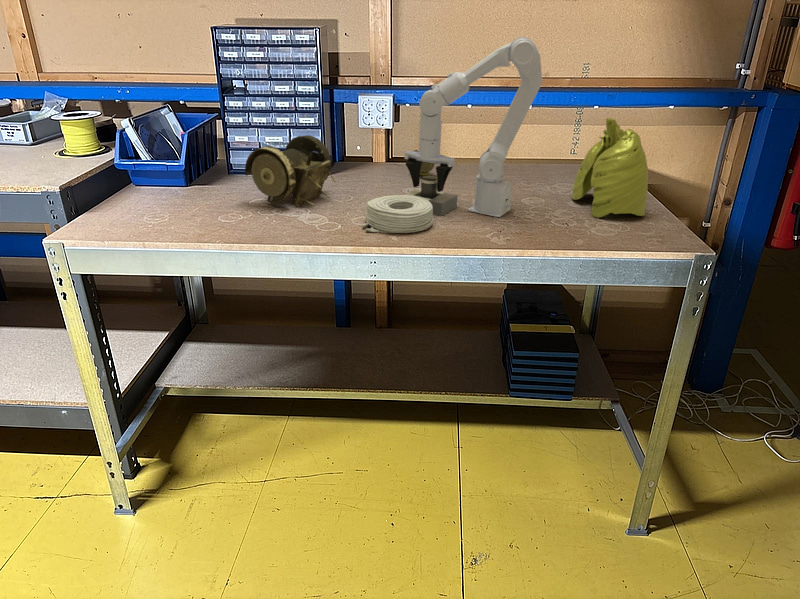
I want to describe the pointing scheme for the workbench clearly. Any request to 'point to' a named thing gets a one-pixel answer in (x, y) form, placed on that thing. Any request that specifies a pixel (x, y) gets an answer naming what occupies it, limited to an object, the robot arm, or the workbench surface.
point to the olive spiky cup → (425, 168)
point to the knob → (429, 187)
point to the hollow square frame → (439, 201)
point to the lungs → (614, 173)
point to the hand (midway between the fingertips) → (428, 188)
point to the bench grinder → (291, 170)
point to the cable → (398, 214)
